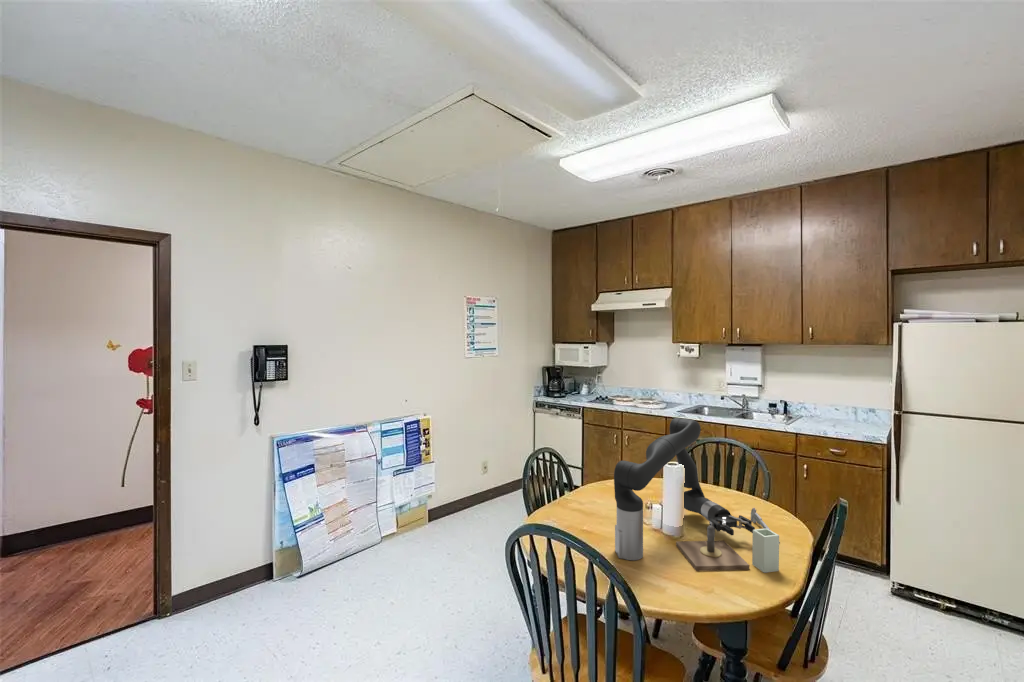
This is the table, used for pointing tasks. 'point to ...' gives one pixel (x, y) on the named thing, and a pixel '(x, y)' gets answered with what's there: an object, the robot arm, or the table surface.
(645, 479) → the robot arm
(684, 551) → the post stand
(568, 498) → the table surface
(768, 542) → the sleeve
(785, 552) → the table surface
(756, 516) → the caliper
